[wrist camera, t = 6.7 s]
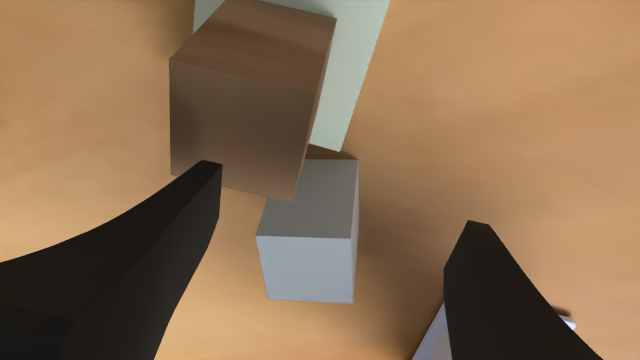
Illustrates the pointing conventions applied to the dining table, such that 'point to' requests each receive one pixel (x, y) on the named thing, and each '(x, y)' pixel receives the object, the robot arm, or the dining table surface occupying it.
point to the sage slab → (333, 58)
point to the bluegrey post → (313, 235)
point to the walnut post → (249, 94)
